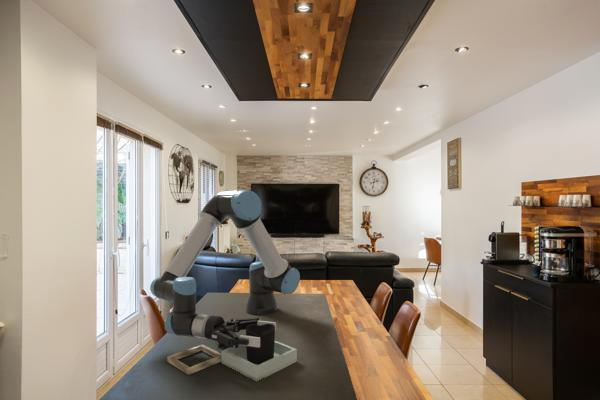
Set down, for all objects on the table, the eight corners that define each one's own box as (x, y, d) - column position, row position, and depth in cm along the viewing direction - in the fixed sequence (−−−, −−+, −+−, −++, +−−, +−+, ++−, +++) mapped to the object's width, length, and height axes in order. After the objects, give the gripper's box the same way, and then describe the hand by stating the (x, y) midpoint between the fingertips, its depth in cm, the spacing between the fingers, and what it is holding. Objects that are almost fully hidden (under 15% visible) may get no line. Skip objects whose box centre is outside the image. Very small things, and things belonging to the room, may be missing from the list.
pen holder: (259, 350, 116) (259, 320, 116) (280, 357, 111) (280, 326, 111) (239, 360, 108) (239, 329, 109) (261, 368, 103) (261, 335, 103)
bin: (261, 346, 121) (261, 335, 121) (296, 361, 110) (296, 349, 110) (221, 363, 108) (221, 350, 108) (256, 381, 97) (256, 367, 97)
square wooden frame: (202, 348, 119) (202, 344, 119) (224, 360, 110) (224, 355, 110) (166, 361, 109) (166, 356, 109) (188, 374, 101) (188, 369, 101)
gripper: (227, 325, 126) (281, 331, 120) (186, 353, 102) (251, 363, 96) (227, 305, 126) (281, 310, 120) (187, 328, 102) (251, 336, 96)
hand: (268, 334), depth 108 cm, fingers open, 13 cm apart
